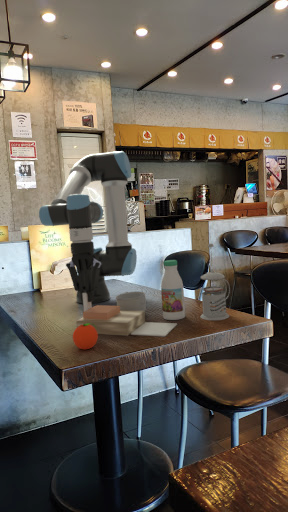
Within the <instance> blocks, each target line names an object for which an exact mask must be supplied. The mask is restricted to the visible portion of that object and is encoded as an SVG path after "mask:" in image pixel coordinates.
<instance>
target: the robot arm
mask: <svg viewBox="0 0 288 512" xmlns="http://www.w3.org/2000/svg"><path fill="white" fill-rule="evenodd" d="M130 163H131V162H130V160H129V157H128V155H127V153H126V152H124V151H123V150H121V151H117V150H116V151H108V152H101V153H91V154H89V155H85V156H84V157H82V158H81V159H80V160H78V161H77V162H76V163H74V165H73V166H72V167H71V169H70V170H69V174H68V175H69V176H68V177H67V179H66V181H65V182H64V184H63V185H62V187H61V188H60V190H59V191H58V193H57V194H56V196H55V198H54V199H53V200H52V202H51V204H46V205H42V206H40V208H39V211H38V218H39V220H40V222H41V224H42V225H43V226H45V227H49V226H50V227H51V226H52V227H54V226H55V227H56V226H68V229H69V231H68V233H69V240H70V242H71V243H70V253H71V255H72V256H71V260H70V261H69V262H67V263H65V267H66V268H67V270H68V272H69V275H70V278H71V281H72V284H73V288H74V291H76V296H75V299H76V303H79V304H83V312H84V311H86V310H88V309H90V308H92V307H93V305H92V304H97V303H102V302H105V301H108V300H110V299H111V292H110V291H109V289H108V287H107V283H106V279H105V277H120V276H121V277H125V276H131V275H132V274H133V273H134V272H135V270H136V266H137V261H138V260H137V258H138V257H137V256H138V255H137V250H136V249H135V248H133V245H132V243H131V242H130V241H129V238H128V237H129V234H128V220H127V218H128V217H127V204H126V191H125V190H126V189H125V187H126V185H128V179H130V178H131V177H132V167H131V164H130ZM93 182H100V184H101V185H102V187H104V192H105V207H106V209H105V210H106V220H107V223H106V224H107V236H108V237H107V238H108V239H107V240H108V243H107V244H106V245H105V250H103V248H102V247H101V246H100V247H95V245H94V242H93V241H92V240H94V235H93V233H94V232H93V224H96V223H98V222H99V221H101V220H102V219H103V216H104V209H103V207H102V206H101V204H99V203H98V202H96V201H90V196H89V195H88V194H87V193H82V192H83V191H84V189H85V187H86V186H88V185H89V184H90V183H93Z"/></svg>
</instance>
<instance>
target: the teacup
mask: <svg viewBox="0 0 288 512" xmlns="http://www.w3.org/2000/svg"><path fill="white" fill-rule="evenodd" d="M115 300H116V306H120V310H130V311H146V310H147V301H146V292H144V291H125V292H124V293H120V294H118V295H116V296H115Z"/></svg>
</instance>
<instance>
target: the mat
mask: <svg viewBox="0 0 288 512" xmlns="http://www.w3.org/2000/svg"><path fill="white" fill-rule="evenodd" d="M177 325H178V323H176V322H175V323H171V322H151V321H150V322H148V321H145V323H144V324H143V325H141V326H140V327H139V328H137V329H136V330H135V331H133V332H132V333H131V334H130V335H132V336H147V337H148V336H149V337H167V335H168V334H169V333H170V332H171V331H172V330H174V328H175V327H177Z"/></svg>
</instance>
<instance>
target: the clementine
mask: <svg viewBox="0 0 288 512" xmlns="http://www.w3.org/2000/svg"><path fill="white" fill-rule="evenodd" d="M89 324H90V323H87V324H83V325H80V326H78V327H77V326H76V328H75V329H74V331H73V334H72V341H73V343H74V346H76V347H77V348H79V349H81V350H88V349H92V348H93V347H94V346H95V345H96V344H97V341H98V339H99V334H97V331H96V329H95V328H94V327H93V326H91V325H89ZM93 325H94V324H93ZM94 326H95V325H94ZM95 327H96V326H95Z"/></svg>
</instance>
